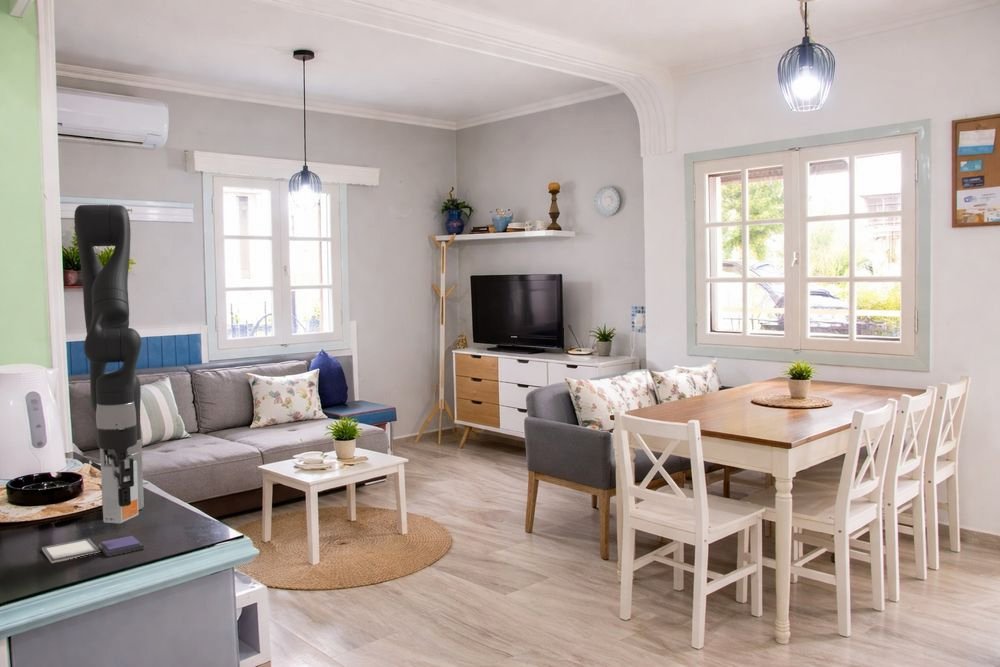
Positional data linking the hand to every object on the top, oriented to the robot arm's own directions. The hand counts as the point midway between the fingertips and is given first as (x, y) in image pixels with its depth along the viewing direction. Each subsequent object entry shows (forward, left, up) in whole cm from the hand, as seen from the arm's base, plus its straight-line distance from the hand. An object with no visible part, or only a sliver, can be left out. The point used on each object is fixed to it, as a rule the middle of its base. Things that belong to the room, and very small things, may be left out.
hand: (119, 501), depth 168 cm
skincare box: (0, 0, -4) cm, 4 cm away
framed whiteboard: (-5, -9, -10) cm, 14 cm away
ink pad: (0, 0, -10) cm, 10 cm away
